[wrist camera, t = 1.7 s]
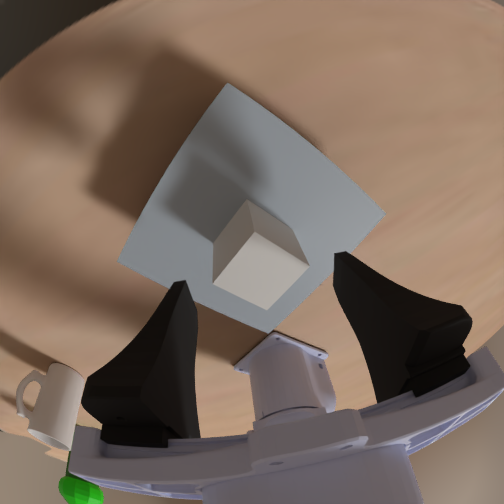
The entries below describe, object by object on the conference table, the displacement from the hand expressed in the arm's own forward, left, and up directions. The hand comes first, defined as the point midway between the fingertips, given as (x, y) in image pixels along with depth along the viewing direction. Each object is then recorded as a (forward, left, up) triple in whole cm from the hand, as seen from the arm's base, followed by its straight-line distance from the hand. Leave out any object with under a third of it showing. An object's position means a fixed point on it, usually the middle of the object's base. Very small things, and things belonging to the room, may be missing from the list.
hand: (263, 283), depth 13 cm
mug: (+9, +36, -10) cm, 38 cm away
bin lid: (0, 0, -6) cm, 6 cm away
